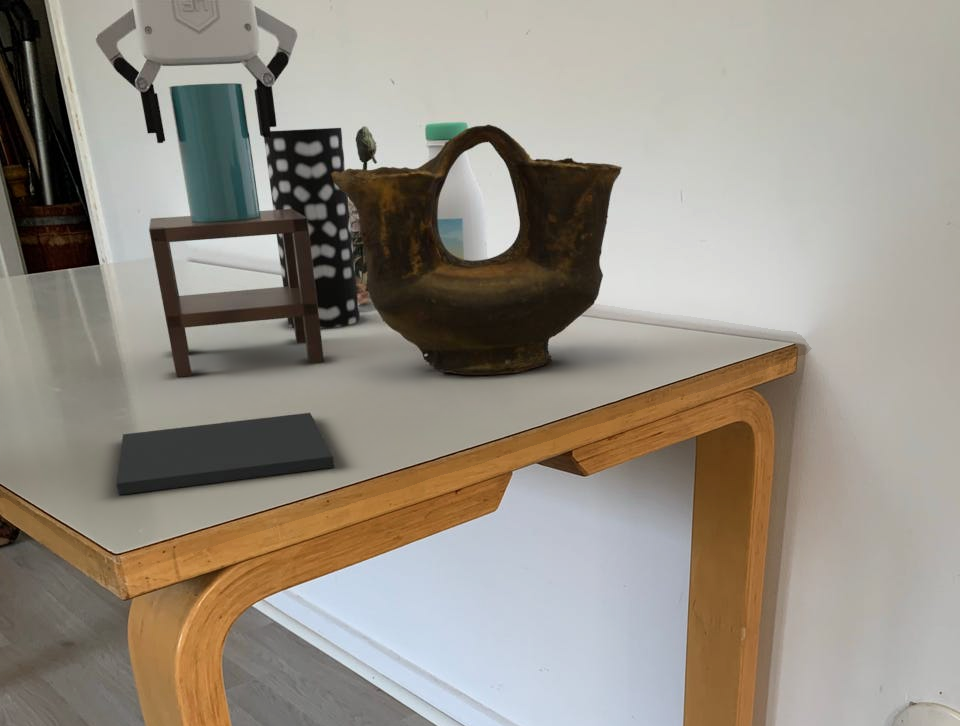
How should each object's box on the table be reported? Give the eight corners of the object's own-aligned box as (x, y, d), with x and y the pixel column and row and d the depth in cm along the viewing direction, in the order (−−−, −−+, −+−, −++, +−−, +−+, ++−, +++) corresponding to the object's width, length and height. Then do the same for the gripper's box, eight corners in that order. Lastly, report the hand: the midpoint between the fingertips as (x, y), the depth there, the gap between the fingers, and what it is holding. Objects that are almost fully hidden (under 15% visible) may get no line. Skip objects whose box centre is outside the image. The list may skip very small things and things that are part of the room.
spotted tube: (331, 330, 110) (309, 129, 101) (273, 326, 114) (246, 132, 105) (373, 317, 117) (356, 126, 107) (317, 314, 120) (295, 129, 111)
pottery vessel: (357, 390, 85) (331, 132, 76) (347, 363, 95) (323, 132, 86) (633, 365, 89) (640, 117, 80) (597, 342, 99) (600, 118, 89)
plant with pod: (381, 295, 131) (367, 125, 122) (401, 308, 121) (387, 125, 112) (321, 301, 129) (301, 129, 120) (336, 314, 119) (316, 128, 110)
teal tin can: (192, 223, 90) (169, 85, 85) (190, 216, 97) (168, 89, 92) (263, 218, 91) (244, 82, 86) (255, 212, 99) (238, 86, 93)
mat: (118, 495, 64) (116, 483, 63) (125, 444, 74) (122, 434, 74) (334, 467, 67) (333, 456, 66) (311, 422, 77) (310, 412, 77)
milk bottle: (464, 307, 120) (455, 121, 111) (503, 314, 114) (496, 120, 105) (411, 316, 116) (396, 125, 107) (448, 324, 110) (436, 123, 101)
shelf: (176, 377, 93) (148, 229, 87) (175, 352, 103) (150, 218, 97) (324, 361, 96) (307, 217, 90) (308, 339, 106) (292, 208, 100)
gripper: (65, -101, 77) (113, 145, 85) (288, -101, 81) (314, 135, 89) (72, -83, 83) (117, 144, 91) (278, -84, 87) (304, 134, 95)
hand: (214, 139), depth 90 cm, fingers open, 9 cm apart
